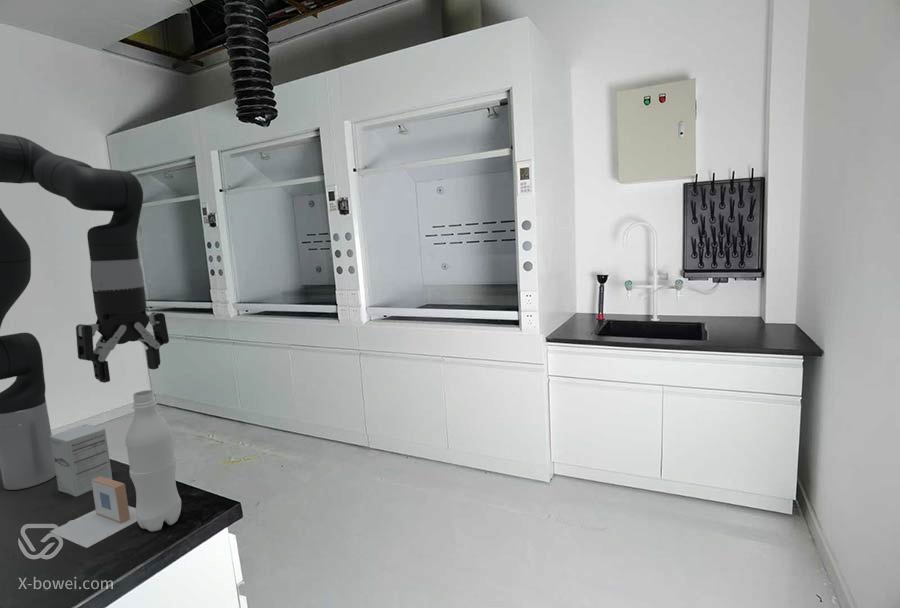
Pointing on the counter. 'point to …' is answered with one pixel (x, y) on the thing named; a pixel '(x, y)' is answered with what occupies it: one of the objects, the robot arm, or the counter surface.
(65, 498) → the counter surface
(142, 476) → the water bottle
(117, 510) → the tile
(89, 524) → the mat
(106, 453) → the supplement box
